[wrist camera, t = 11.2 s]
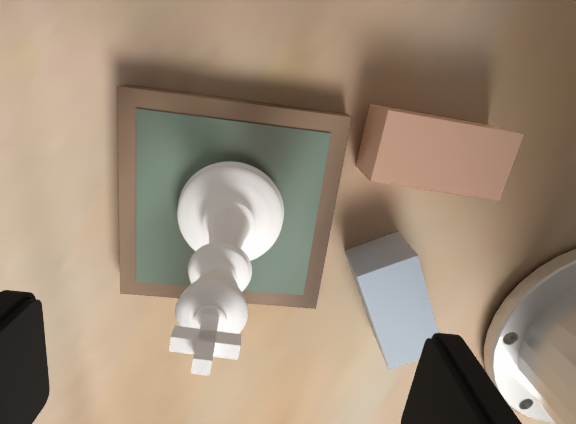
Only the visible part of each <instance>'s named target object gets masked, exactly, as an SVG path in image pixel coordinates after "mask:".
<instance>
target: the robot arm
mask: <svg viewBox="0 0 576 424" xmlns="http://www.w3.org/2000/svg"><path fill="white" fill-rule="evenodd" d="M484 365H485V368H486V372H487V373H486V372H485V370H484V369H483V367H482V366H481V364H480V363H479V362H478V360H477V359H476V357H475V356H474V354H473V353H472V351H471V350H470V349H469V347H468V346H467V344H466V343H465V341H464V340H463V339H462V338H461V336H459V335H453V334H443V333H435V334H434V335H433V336H432V338H427V339H426V341H425V343H424V346H423V350H422V353H421V356H420V359H419V363H418V366H417V369H416V372H415V376H414V379H413V382H412V386H411V389H410V392H409V395H408V399H407V402H406V405H405V408H404V412H403V415H402V419H401V424H522V423H521V422H520V421H519V419H518V418H517V416H516V415H515V413H514V412H513V410H512V409H514V410H515V411H516V412H518V413H520V414H522V415H525V416H527V417H529V418H531V419H535V420H540V421H544V422H549V423H556V424H576V249H574V250H572V251H569V252H567V253H565V254H562V255H560V256H557V257H556V258H554V259H552V260H551V261H549V262H547V263H546V264H544V265H542V266H541V267H539V268H537V269H536V270H535V271H534V272H532V273H531V274H530V275H529V276H527V277H526V278H525V279H524V280H523V281H521V282H520V283H519V284H518V285H517V286H516V287H515V289H514V290H513V291H512V292H511V293H510V294H509V295H508V296H507V297H506V298H505V300H504V301H503V303H502V304H501V306H500V307H499V309H498V311H497V312H496V314H495V315H494V317H493V320H492V322H491V324H490V327H489V329H488V331H487V336H486V340H485V345H484ZM48 396H49V377H48V366H47V355H46V344H45V333H44V322H43V311H42V304H41V302H40V300H36V299H35V296H34V295H33V294H32V293H30V292H19V291H9V290H5V291H2V292H0V424H32V423H33V421H34V420H35V419H36V417H37V416H38V414H39V413H40V411H41V410H42V409H43V407H44V405H45V404H46V401H47V399H48ZM510 407H511V408H512V409H511V408H510Z"/></svg>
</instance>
